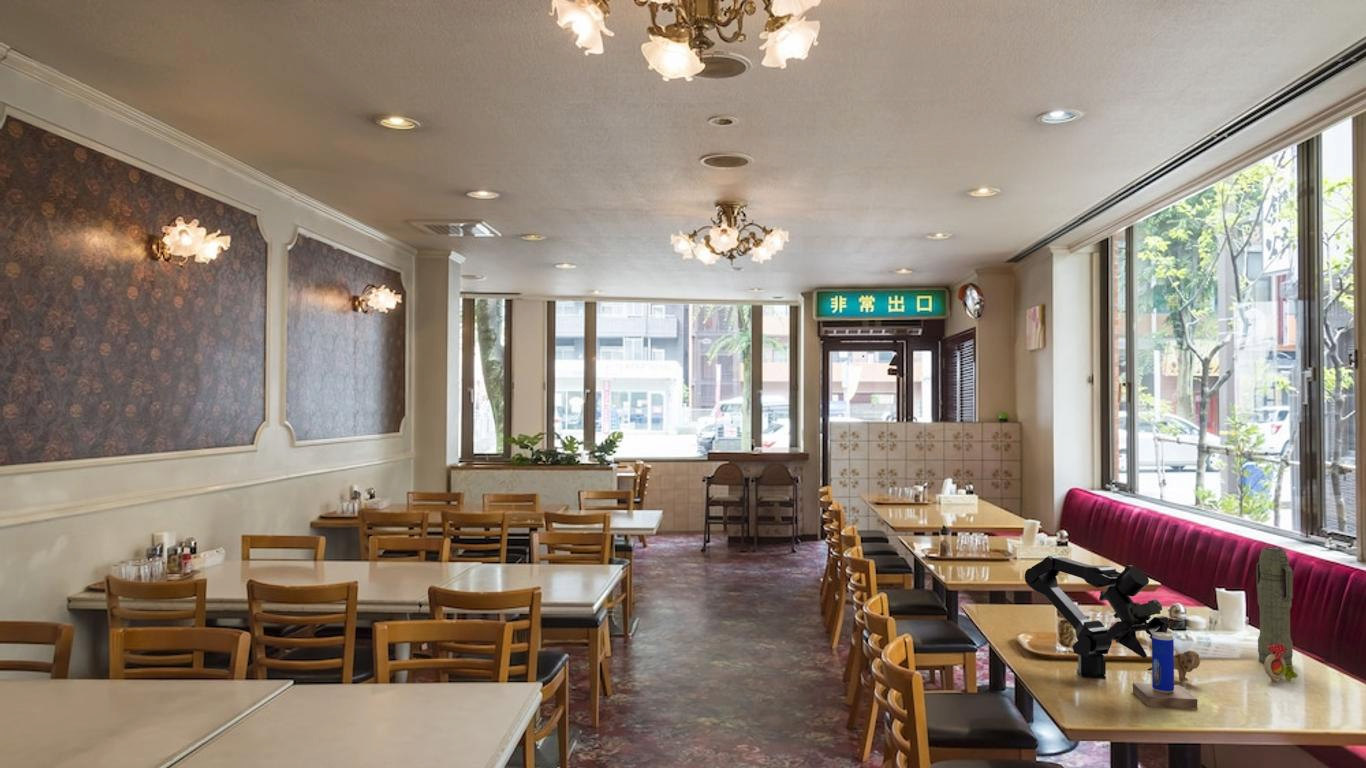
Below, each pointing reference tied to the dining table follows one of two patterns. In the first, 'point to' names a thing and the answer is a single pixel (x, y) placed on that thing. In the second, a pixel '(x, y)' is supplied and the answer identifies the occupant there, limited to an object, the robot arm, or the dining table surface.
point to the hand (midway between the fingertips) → (1157, 655)
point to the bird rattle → (1278, 664)
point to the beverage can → (1163, 662)
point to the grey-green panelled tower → (1274, 601)
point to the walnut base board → (1164, 697)
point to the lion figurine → (1185, 663)
